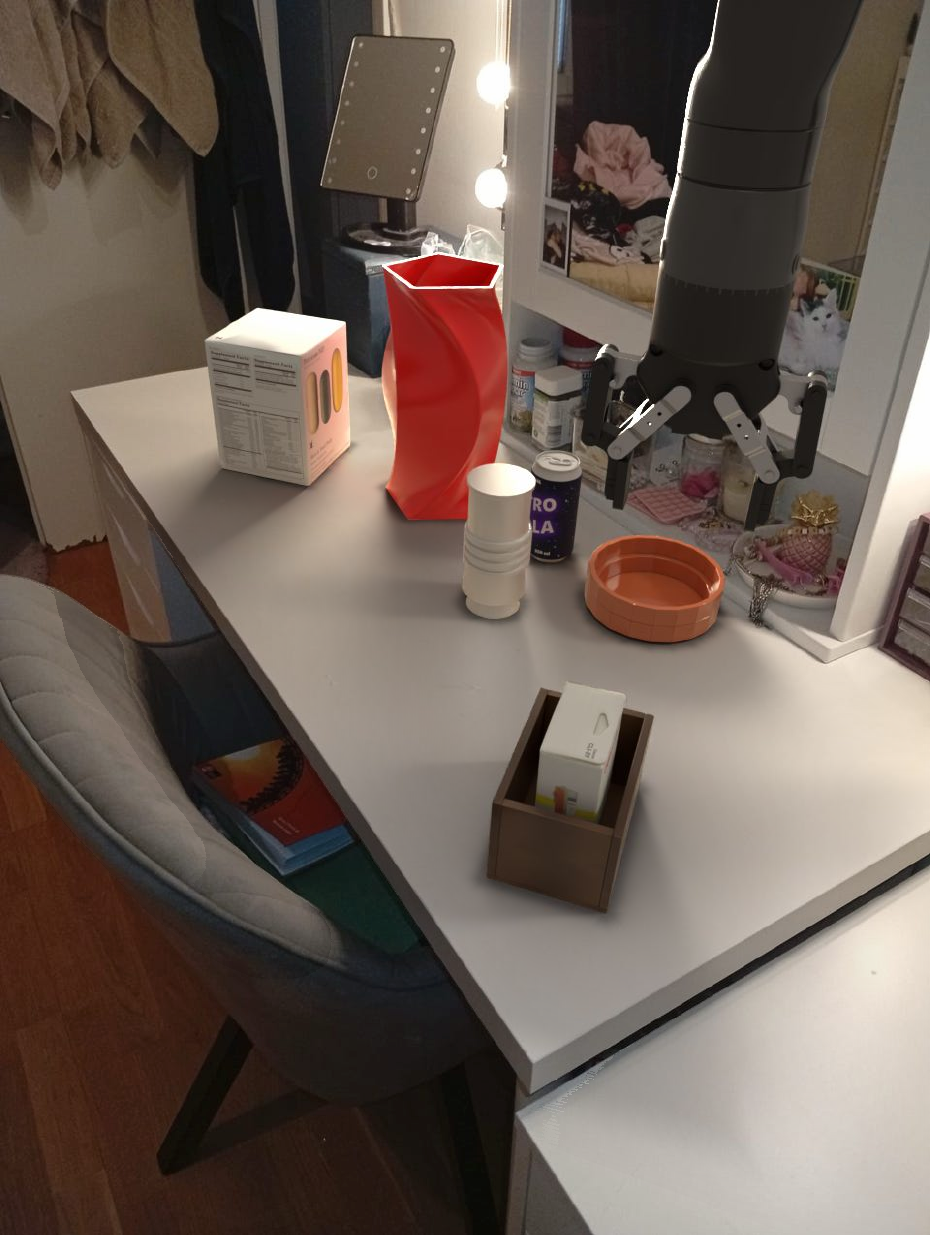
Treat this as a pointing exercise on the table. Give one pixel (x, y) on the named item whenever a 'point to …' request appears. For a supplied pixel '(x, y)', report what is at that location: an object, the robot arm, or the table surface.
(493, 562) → the white ribbed cup
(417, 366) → the vase
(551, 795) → the ink box
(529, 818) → the holder
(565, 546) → the beverage can
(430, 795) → the table surface
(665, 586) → the bowl
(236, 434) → the supplement box
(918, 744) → the table surface
